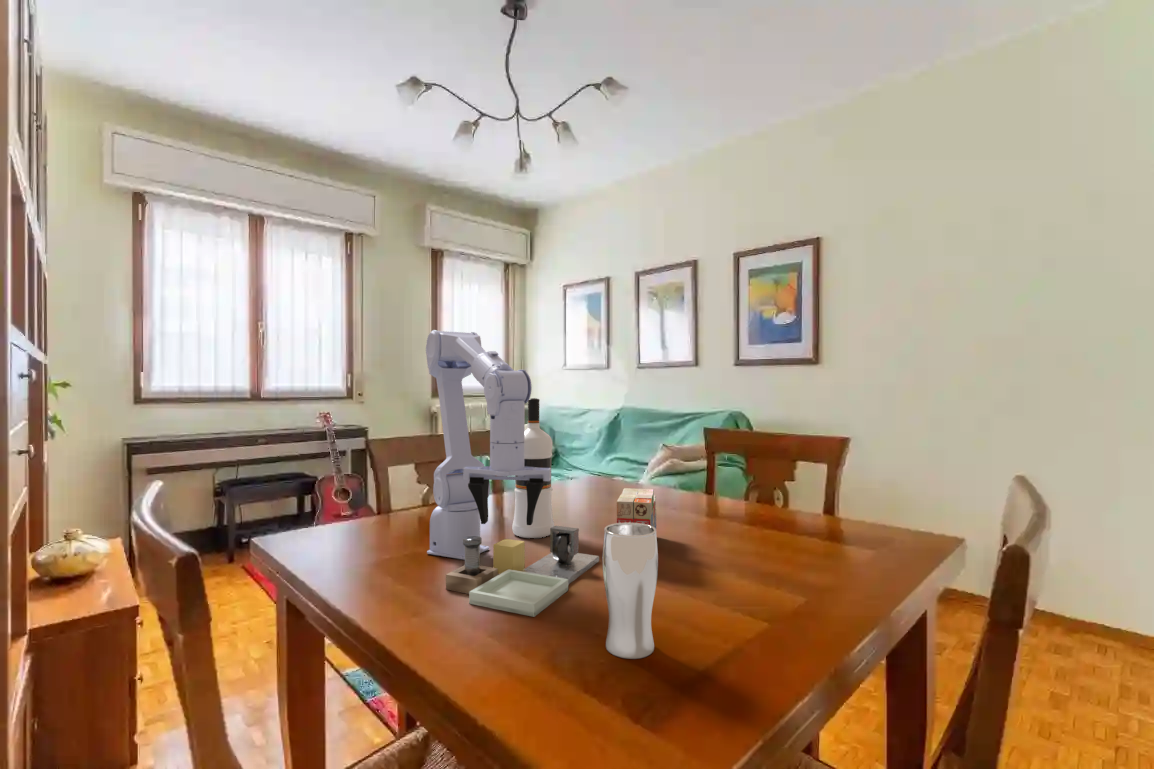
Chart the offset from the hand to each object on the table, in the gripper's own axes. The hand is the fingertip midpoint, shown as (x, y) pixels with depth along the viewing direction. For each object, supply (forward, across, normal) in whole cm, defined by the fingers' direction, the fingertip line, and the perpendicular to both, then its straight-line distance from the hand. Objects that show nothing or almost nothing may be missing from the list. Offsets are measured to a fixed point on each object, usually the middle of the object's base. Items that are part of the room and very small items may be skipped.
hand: (507, 523), depth 93 cm
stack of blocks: (+10, +22, +20) cm, 32 cm away
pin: (+10, -5, -2) cm, 11 cm away
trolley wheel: (+10, +8, +7) cm, 14 cm away
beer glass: (+10, +20, -21) cm, 31 cm away
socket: (+10, -5, -2) cm, 11 cm away
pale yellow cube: (+10, -1, +6) cm, 12 cm away
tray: (+10, +3, -6) cm, 12 cm away
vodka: (+10, 0, +30) cm, 32 cm away
